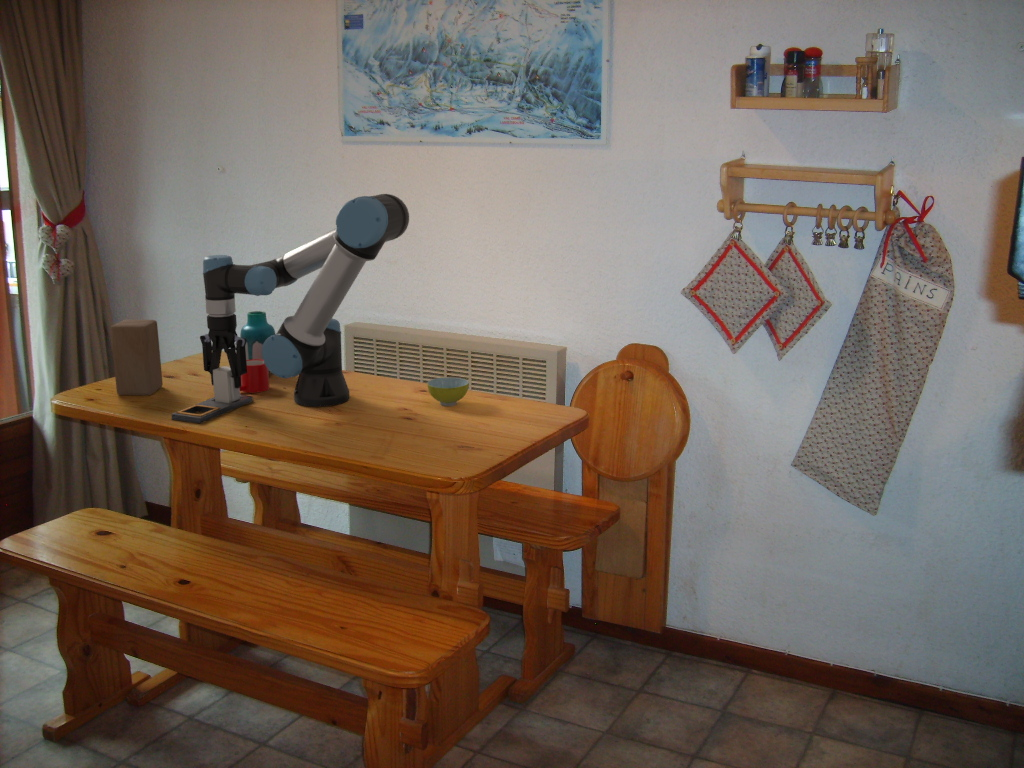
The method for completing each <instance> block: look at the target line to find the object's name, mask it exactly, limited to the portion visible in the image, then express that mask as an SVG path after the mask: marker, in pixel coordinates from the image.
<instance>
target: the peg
mask: <svg viewBox="0 0 1024 768" xmlns="http://www.w3.org/2000/svg"><path fill="white" fill-rule="evenodd" d="M231 376H232V372H231V368H230V366H227V365H226V366H225V365H224V366H219V368H217V369H214V370H213V379H214V385H213V393H214V392H215V401H217V402H224V403H232V402H234V401H232V397H231V383H230V377H231ZM239 399H240V398H239ZM239 399H237V400H239ZM235 401H236V400H235Z"/></svg>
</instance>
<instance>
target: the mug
mask: <svg viewBox="0 0 1024 768" xmlns="http://www.w3.org/2000/svg"><path fill="white" fill-rule="evenodd" d="M246 363H247V373H246V374H243V375H241V387H240V392H242V393H243V392H244V393H263V392H266V391H268V390H269V389H270V376H269V374H270V373H268V368H267V367H266V365H265V363H264V360H261V359H252V360H246ZM262 391H263V392H262Z"/></svg>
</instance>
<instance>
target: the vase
mask: <svg viewBox="0 0 1024 768" xmlns="http://www.w3.org/2000/svg"><path fill="white" fill-rule="evenodd" d="M246 315H247V318H246V319H247V320H246V321H247V322H246V324H245V325H244V326H242V327H241V329H240V335H239V337H240V338H242V339H243V338H246V340H247V341H246V345H245V350H246V360H252V359H261V360H264V359H263V357H262V346H263V343H264V342H265V340H266V339H267V338H269V337H270V336H271V335H275V334H276V330H275V327H274V326H273V325H272V324H270V323H269V322H268V320H267V313H266V311H261V310H254V311H249V312H247V314H246ZM268 373H269V374H272V373H271V372H270V371H269V370H268Z"/></svg>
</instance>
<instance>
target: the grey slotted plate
mask: <svg viewBox="0 0 1024 768" xmlns="http://www.w3.org/2000/svg"><path fill="white" fill-rule="evenodd" d="M253 399H254V398H253V396H252V395H247V394H240V399H239V400H236V401H234V402H232V403H224V402H217V401H215V397H211V398H209V399H205V400H203V401H200V402H199V403H195V404H194V405H191V406H188V407H186V408H184V409H180V410H178V411H176V412H173V413H171V420H174V421H180V422H186V423H194V424H204V423H205V422H208V421H210V420H213V419H214V418H217V417H219V416H222V415H225V414H226V413H229V412H231V411H234V410H236V409H238V408H240V407H243V406H245V405H247V404H250V403H252V402H253V401H254V400H253ZM198 413H201V414H198Z"/></svg>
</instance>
